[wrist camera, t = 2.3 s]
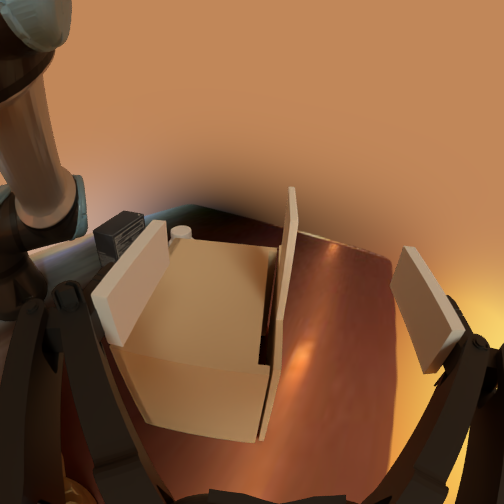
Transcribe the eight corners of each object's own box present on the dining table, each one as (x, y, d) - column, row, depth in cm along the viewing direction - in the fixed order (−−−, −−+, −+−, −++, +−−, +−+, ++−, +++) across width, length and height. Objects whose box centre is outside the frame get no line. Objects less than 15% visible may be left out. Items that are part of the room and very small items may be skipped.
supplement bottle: (185, 261, 63) (183, 221, 58) (202, 272, 60) (201, 230, 55) (166, 272, 59) (161, 230, 54) (182, 283, 57) (179, 240, 51)
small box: (129, 249, 66) (123, 209, 60) (150, 255, 64) (145, 213, 59) (100, 272, 57) (91, 229, 52) (122, 280, 56) (113, 235, 50)
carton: (146, 423, 31) (109, 346, 23) (183, 320, 48) (174, 237, 40) (254, 443, 30) (269, 375, 22) (265, 331, 47) (277, 248, 39)
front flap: (258, 440, 30) (292, 264, 16) (268, 330, 47) (287, 171, 33) (263, 440, 30) (302, 265, 16) (272, 330, 47) (292, 171, 33)
